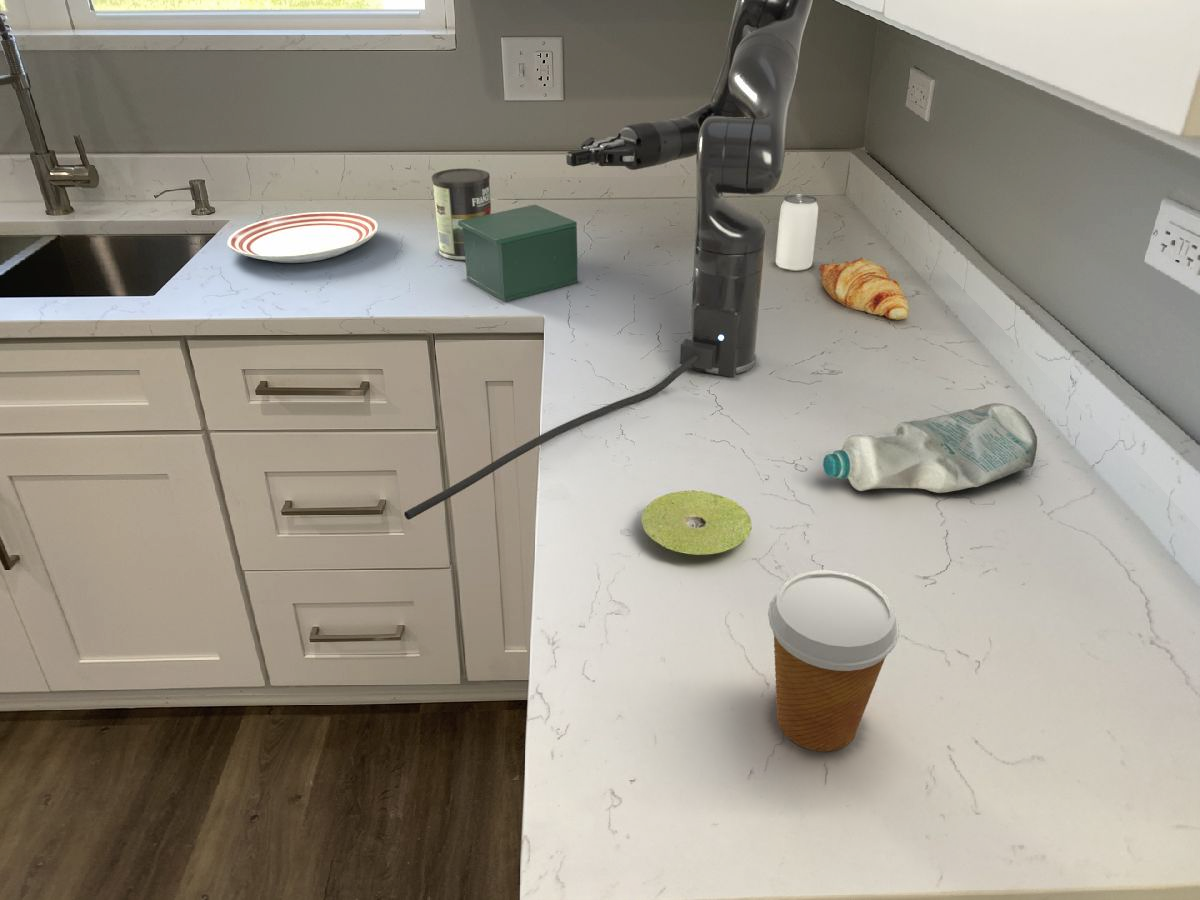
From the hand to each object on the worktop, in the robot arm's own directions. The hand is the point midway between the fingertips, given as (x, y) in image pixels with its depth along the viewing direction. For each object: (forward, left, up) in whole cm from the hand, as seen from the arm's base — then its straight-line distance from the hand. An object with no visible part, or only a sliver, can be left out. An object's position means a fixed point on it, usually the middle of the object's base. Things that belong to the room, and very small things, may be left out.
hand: (569, 159), depth 154 cm
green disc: (-67, -46, -19) cm, 84 cm away
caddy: (-9, +5, -19) cm, 22 cm away
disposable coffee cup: (-87, -63, -19) cm, 109 cm away
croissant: (+4, -50, -19) cm, 54 cm away
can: (+17, -36, -19) cm, 44 cm away
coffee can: (+1, +22, -19) cm, 29 cm away
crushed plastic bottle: (-46, -66, -19) cm, 83 cm away
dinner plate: (-9, +51, -19) cm, 55 cm away
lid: (-9, +5, -9) cm, 14 cm away
